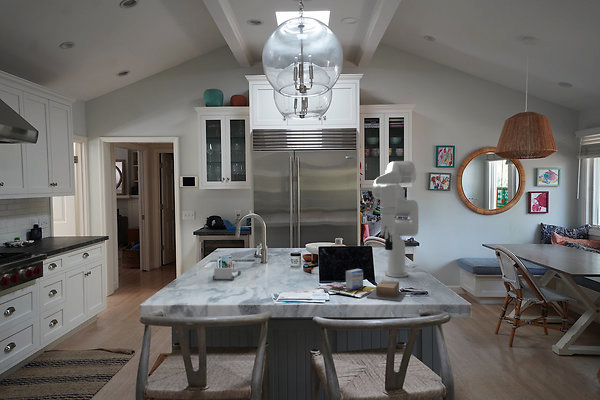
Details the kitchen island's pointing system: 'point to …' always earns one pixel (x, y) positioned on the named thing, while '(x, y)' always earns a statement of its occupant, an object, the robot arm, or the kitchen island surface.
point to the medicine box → (354, 278)
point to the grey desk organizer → (226, 271)
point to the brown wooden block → (387, 288)
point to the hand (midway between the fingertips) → (388, 249)
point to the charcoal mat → (397, 297)
